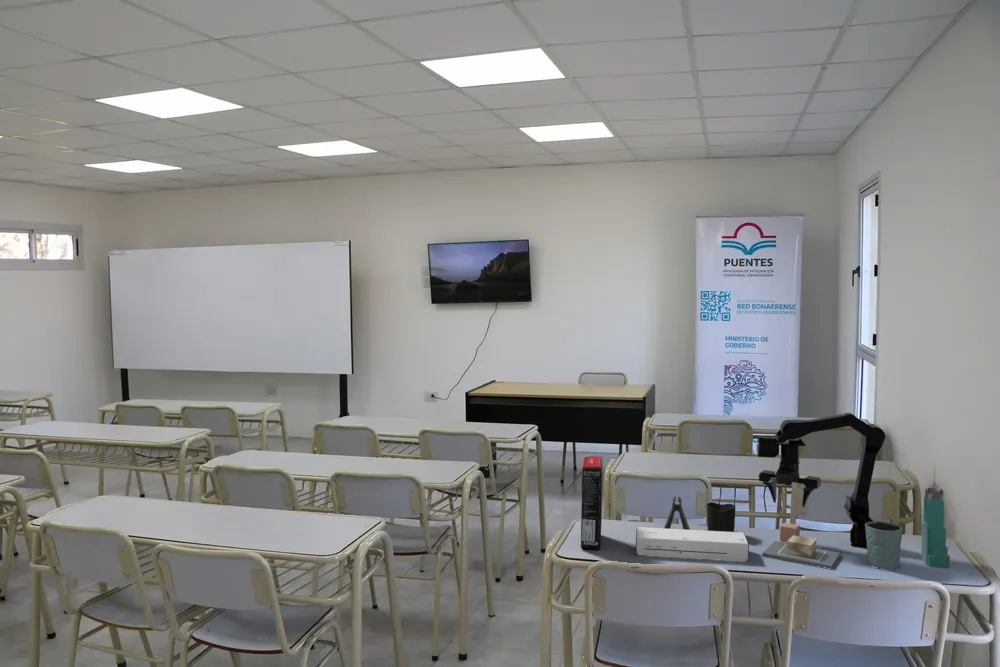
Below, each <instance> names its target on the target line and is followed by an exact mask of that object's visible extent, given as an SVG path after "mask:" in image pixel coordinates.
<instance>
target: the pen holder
mask: <svg viewBox="0 0 1000 667" xmlns="http://www.w3.org/2000/svg"><path fill="white" fill-rule="evenodd" d="M706 518H707V519H706V520H707V521H706V522H707V526H706V527H707V531H722V532H735V527H736V526H735V523H736V522H735V521H736V505H734V504H733V503H723V504H721V503H717V502H713V501H712V502H708V503H706Z"/></svg>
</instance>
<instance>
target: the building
mask: <svg viewBox="0 0 1000 667" xmlns="http://www.w3.org/2000/svg"><path fill="white" fill-rule="evenodd" d="M935 474H936V465H934V471H933V483H932V484H929V487H927V488H926V487H925V489H924V496H923V519H922V521H921V561H923V562H924V563H925V565H927V566H928V567H936V568H950V564H951V563H950V561H951V560H950V557H951V556H950V555H949V548H948V547H947V529H946V528H945V527H944V526H945V524H944V523H945V501H944V490H943V489H942V488H940V486H939V485H937V484H936V475H935Z"/></svg>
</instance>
